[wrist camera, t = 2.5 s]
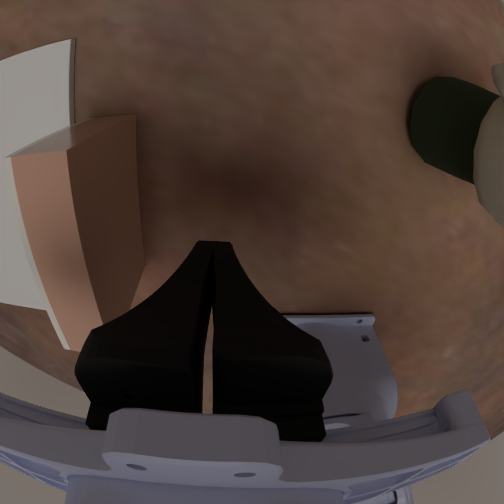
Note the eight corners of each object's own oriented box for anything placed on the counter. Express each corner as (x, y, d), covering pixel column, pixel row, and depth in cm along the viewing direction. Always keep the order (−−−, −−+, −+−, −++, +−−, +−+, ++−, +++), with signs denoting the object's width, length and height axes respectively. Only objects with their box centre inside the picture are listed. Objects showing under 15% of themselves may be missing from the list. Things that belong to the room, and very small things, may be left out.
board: (75, 39, 11) (70, 38, 11) (107, 312, 22) (104, 317, 22) (-52, 86, 10) (-57, 87, 10) (-4, 296, 21) (-7, 300, 20)
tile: (136, 114, 15) (66, 150, 8) (145, 264, 20) (114, 356, 13) (89, 117, 14) (3, 158, 8) (106, 261, 20) (64, 348, 13)
